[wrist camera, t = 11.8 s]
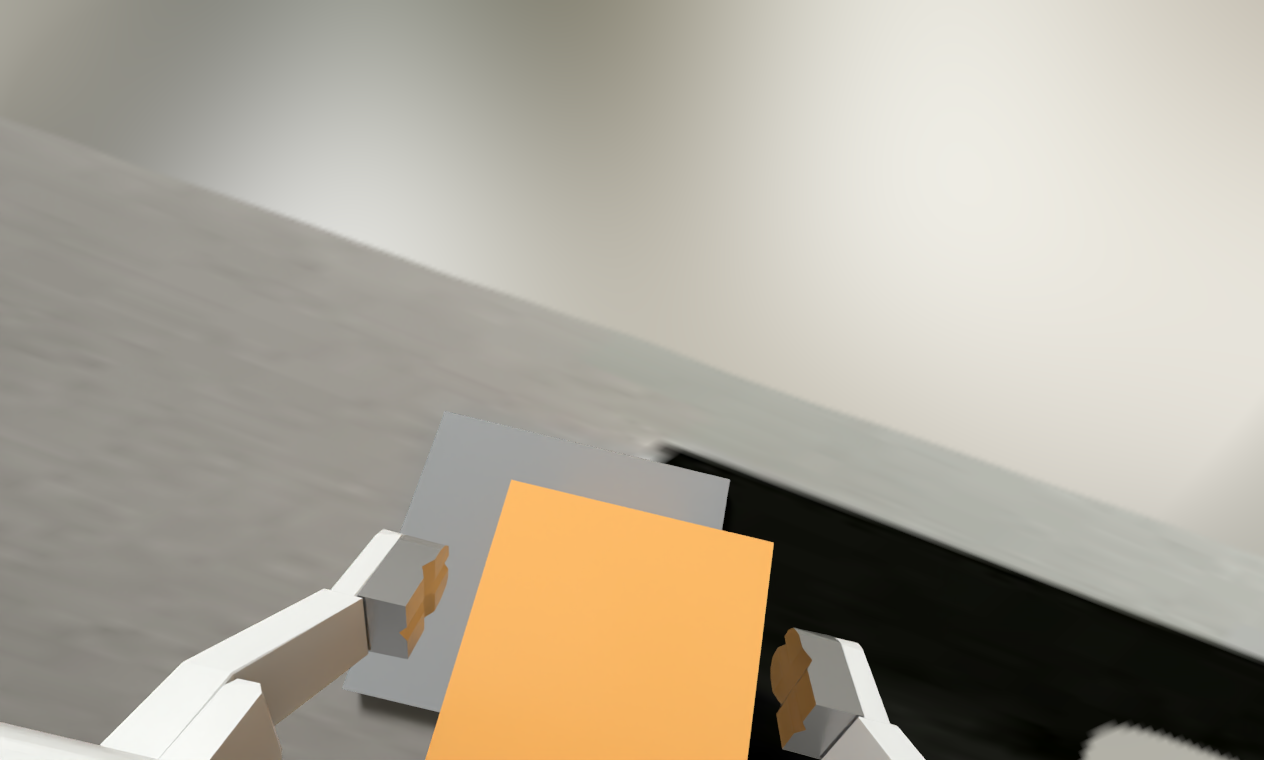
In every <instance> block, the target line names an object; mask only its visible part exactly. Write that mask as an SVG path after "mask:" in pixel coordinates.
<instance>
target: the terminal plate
mask: <svg viewBox="0 0 1264 760" xmlns="http://www.w3.org/2000/svg"><path fill="white" fill-rule="evenodd" d="M511 480H515V481H519V482H523V483H527V484H531V485H536V486H540V487H544V488H548V489H552V490H556V491H561V492H565V493H569V494H573V495H577V496H581V497H586V498H590V499H594V500H598V501H602V502H606V503H611V504H615V505H619V506H623V507H627V508H631V509H635V510H640V511H644V512H648V513H652V514H656V515H660V516H665V517H669V518H673V519H677V520H681V521H685V522H690V523H694V524H698V525H702V526H706V527H710V528H715V529H719V530H722V526H723V520H724V514H725V507H726V501H727V495H728V488H729V482H730V480H729V479H725V478H721V477H717V476H713V475H708V474H704V473H700V472H696V471H692V470H688V469H684V468H679V467H675V466H671V465H667V464H663V463H659V462H655V461H650V460H646V459H642V458H638V457H634V456H630V455H626V454H622V453H617V452H613V451H609V450H605V449H601V448H597V447H593V446H588V445H584V444H580V443H576V442H572V441H568V440H564V439H559V438H555V437H551V436H547V435H543V434H539V433H535V432H530V431H526V430H522V429H518V428H514V427H510V426H506V425H501V424H497V423H493V422H489V421H485V420H481V419H477V418H472V417H468V416H464V415H460V414H456V413H452V412H448V411H445V412H444V415H443V417H442V420H441V423H440V425H439V428H438V431H437V433H436V436H435V439H434V442H433V444H432V447H431V450H430V452H429V455H428V458H427V460H426V463H425V466H424V469H423V471H422V474H421V477H420V479H419V482H418V485H417V487H416V490H415V493H414V496H413V498H412V501H411V504H410V506H409V509H408V512H407V514H406V517H405V520H404V523H403V525H402V528H401V531H400V533H402V534H406V535H409V536H413V537H416V538H420V539H424V540H428V541H432V542H435V543H439V544H443V545H447V546H449V556H448V558H447V560H446V562H445V563H444V564H445V565H446V566H447V568H448V579H447V584H446V587H445V590H444V592H443V595H442V598H441V600H440V602H439V604H438V606H437V607H436V609H435V611H434V612H432V613H431V614H429V615H428V616H426V617H425V618H424V631H423V633H422V635H421V637H420V638H419V640H418V642H417V644H416V646H415V647H414V649H413V651H412V653H411V655H410V656H409V658H408V659H403V658H399V657H394V656H389V655H384V654H379V653H374V652H370V651H368V655H367V656H365V657H364V658H363V659H361V660H360V661H359V662H357V663H356V664H355V665H353V666H352V667H351V668H350V669H349V671H348V674H347V676H346V679H345V682H344V684H343V687H342V689H344V690H348V691H353V692H357V693H361V694H365V695H369V696H373V697H378V698H382V699H386V700H390V701H394V702H398V703H403V704H407V705H411V706H415V707H419V708H423V709H428V710H432V711H436V712H440V710H441V707H442V704H443V701H444V697H445V694H446V691H447V688H448V684H449V681H450V678H451V675H452V671H453V668H454V665H455V662H456V658H457V655H458V652H459V648H460V645H461V642H462V639H463V635H464V632H465V629H466V626H467V622H468V619H469V616H470V613H471V609H472V606H473V603H474V600H475V596H476V593H477V590H478V587H479V583H480V580H481V577H482V573H483V570H484V567H485V564H486V560H487V557H488V554H489V551H490V547H491V544H492V541H493V538H494V534H495V531H496V528H497V525H498V521H499V518H500V515H501V512H502V508H503V505H504V502H505V498H506V495H507V492H508V489H509V485H510V482H511Z"/></svg>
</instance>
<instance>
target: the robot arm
mask: <svg viewBox="0 0 1264 760" xmlns="http://www.w3.org/2000/svg"><path fill="white" fill-rule="evenodd" d="M448 556H449V546H447V545H443V544H439V543H435V542H432V541H428V540H424V539H420V538H416V537H413V536H409V535H406V534H402V533H397V532H393V531H389V530H385V529H383V530H382V531H380V532H379V533H378V534H376V535H375V536H374V538H373V539H372V540H371V541H370V542H369V544H368V545H367V546H366V547H365V549H364V550H363V551H362V552H361V553H360V555H359V556H358V557H357V558H356V560H355V561H354V562H353V563H352V564H351V566H350V567H349V568H348V569H347V571H346V572H345V573H344V574H343V575H342V577H341V578H340V579H339V580H338V581H337V583H336V584H335V585H334V586H333V588H332V589H331V590H328V589H322V590H320V591H318V592H316V593H314V594H312V595H311V596H309V597H307V598H305V599H303V600H301V601H299V602H297V603H295V604H293V605H291V606H289V607H288V608H286V609H284V610H282V611H280V612H278V613H276V614H274V615H272V616H270V617H268V618H266V619H264V620H263V621H261V622H259V623H257V624H255V625H253V626H251V627H249V628H247V629H245V630H243V631H241V632H240V633H238V634H236V635H234V636H232V637H230V638H228V639H226V640H224V641H222V642H220V643H218V644H216V645H215V646H213V647H211V648H209V649H207V650H205V651H203V652H201V653H199V654H197V655H195V656H193V657H192V658H190V659H188V660H186V661H184V662H182V663H181V664H180V665H179V666H178V667H177V668H176V669H175V670H174V671H173V672H172V673H171V674H170V675H169V676H168V677H167V678H166V679H165V680H164V681H163V682H162V683H161V684H160V685H159V686H158V687H157V688H156V689H155V690H154V691H153V692H152V693H151V694H150V695H149V696H148V697H147V698H146V699H145V700H144V701H143V702H142V703H141V704H140V705H139V706H138V707H137V708H136V709H135V710H134V711H133V712H132V713H131V714H130V715H129V716H128V717H127V718H126V719H125V720H124V721H123V722H122V723H121V724H120V725H119V726H118V727H117V728H116V729H115V730H114V731H113V732H112V733H111V734H110V735H109V736H108V737H107V738H106V739H105V740H104V741H103V743H102V744H101V745H96V744H91V743H87V742H83V741H79V740H75V739H70V738H66V737H62V736H58V735H53V734H49V733H45V732H41V731H36V730H32V729H28V728H24V727H19V726H15V725H11V724H6V723H2V722H0V760H281V759H282V748H281V745H280V742H279V739H278V736H277V733H276V730H275V727H274V726H275V725H276V724H278V723H279V722H280V721H282V720H283V719H284V718H285V717H287V716H288V715H289V714H291V713H292V712H293V711H295V710H296V709H297V708H299V707H300V706H301V705H302V704H304V703H305V702H306V701H308V700H309V699H310V698H312V697H313V696H314V695H316V694H317V693H318V692H319V691H321V690H322V689H323V688H325V687H326V686H327V685H329V684H330V683H331V682H333V681H334V680H335V679H336V678H338V677H339V676H340V675H342V674H343V673H344V672H346V671H347V670H348V669H350V668H351V667H352V666H353V665H355V664H356V663H357V662H359V661H360V660H361V659H363V658H364V657H365V656H367V655H368V651H370V652H374V653H379V654H384V655H389V656H394V657H399V658H403V659H408V658H409V656H410V655H411V653H412V651H413V649H414V647H415V646H416V644H417V642H418V640H419V638H420V637H421V635H422V633H423V631H424V618H425V617H426V616H428V615H429V614H431V613H432V612H434V611H435V609H436V607H437V606H438V604H439V602H440V600H441V598H442V595H443V592H444V590H445V587H446V584H447V579H448V568H447V566H446V565H445V564H444V563H445V562H446V560H447V558H448ZM785 640H786V644H785V645H783V646H781V647H778V648H777V650H776V652H775V654H774V655H773V658H772V664H771V684H772V690H773V693H774V695H775V696H776V697H777V699H778V700H779V702H780V703H781V706H780V708H779V710H778V712H777V714H776V715H777V720H778V726H779V732H780V738H781V744H782V749H785V750H788V751H792V752H796V753H800V754H803V755H807V756H811V757H814V758H818V759H822V760H925V759H924V758H923V756H922V755H921V754H920V753H919V752H918V750H917V749H916V748H915V747H914V746H913V744H912V743H911V742H910V741H909V740H908V738H907V737H906V736H905V735H904V734H903V732H902V731H901V730H900V729H899V728H898V726H896V725H893V724H890V722H889V719H888V716H887V714H886V711H885V708H884V706H883V703H882V700H881V698H880V695H879V692H878V689H877V687H876V684H875V681H874V679H873V676H872V673H871V671H870V668H869V665H868V662H867V660H866V657H865V654H864V652H863V649H862V648H861V646H860V645H859V644H858V643H855V642H852V641H847V640H843V639H838V638H834V637H833V636H828V635H824V634H819V633H815V632H810V631H806V630H801V629H797V628H792V629H790V630H789V631H788V632H787V634H786V635H785Z"/></svg>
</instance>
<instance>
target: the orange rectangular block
mask: <svg viewBox="0 0 1264 760" xmlns="http://www.w3.org/2000/svg"><path fill="white" fill-rule="evenodd" d="M773 544H774V543H773V542H769V541H764V540H760V539H756V538H752V537H748V536H744V535H739V534H735V533H731V532H727V531H723V530H719V529H715V528H710V527H706V526H702V525H698V524H694V523H690V522H685V521H681V520H677V519H673V518H669V517H665V516H660V515H656V514H652V513H648V512H644V511H640V510H635V509H631V508H627V507H623V506H619V505H615V504H611V503H606V502H602V501H598V500H594V499H590V498H586V497H581V496H577V495H573V494H569V493H565V492H561V491H556V490H552V489H548V488H544V487H540V486H536V485H531V484H527V483H523V482H519V481H515V480H511V482H510V485H509V489H508V492H507V495H506V498H505V502H504V505H503V508H502V512H501V515H500V518H499V521H498V525H497V528H496V531H495V534H494V538H493V541H492V544H491V547H490V551H489V554H488V557H487V560H486V564H485V567H484V570H483V573H482V577H481V580H480V583H479V587H478V590H477V593H476V596H475V600H474V603H473V606H472V609H471V613H470V616H469V619H468V622H467V626H466V629H465V632H464V635H463V639H462V642H461V645H460V648H459V652H458V655H457V658H456V662H455V665H454V668H453V671H452V675H451V678H450V681H449V684H448V688H447V691H446V694H445V697H444V701H443V704H442V707H441V710H440V714H439V717H438V720H437V723H436V727H435V730H434V733H433V737H432V740H431V743H430V746H429V750H428V753H427V756H426V759H425V760H747V758H748V750H749V742H750V734H751V725H752V717H753V709H754V701H755V693H756V684H757V676H758V668H759V660H760V651H761V643H762V635H763V627H764V618H765V610H766V602H767V594H768V585H769V577H770V569H771V561H772V553H773Z"/></svg>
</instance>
